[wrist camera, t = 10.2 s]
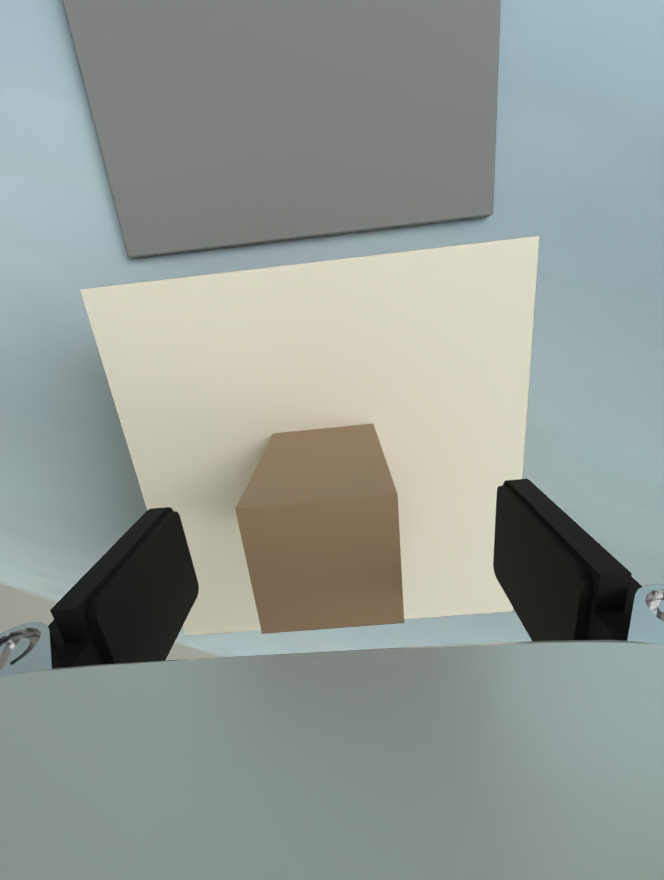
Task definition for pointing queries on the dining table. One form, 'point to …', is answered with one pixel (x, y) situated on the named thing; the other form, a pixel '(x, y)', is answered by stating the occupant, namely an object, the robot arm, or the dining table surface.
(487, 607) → the lid
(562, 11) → the dining table surface
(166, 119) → the mat
